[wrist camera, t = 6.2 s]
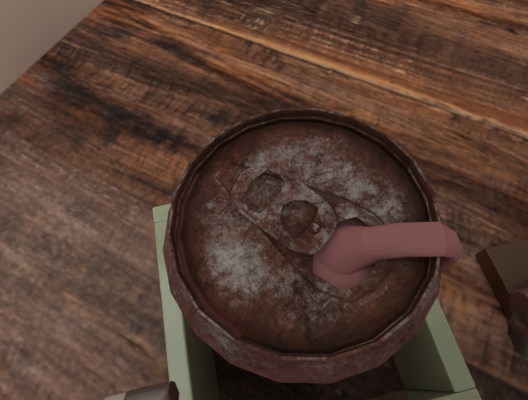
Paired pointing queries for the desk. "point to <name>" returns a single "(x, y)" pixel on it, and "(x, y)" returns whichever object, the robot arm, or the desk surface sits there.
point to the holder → (414, 396)
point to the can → (305, 245)
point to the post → (506, 269)
